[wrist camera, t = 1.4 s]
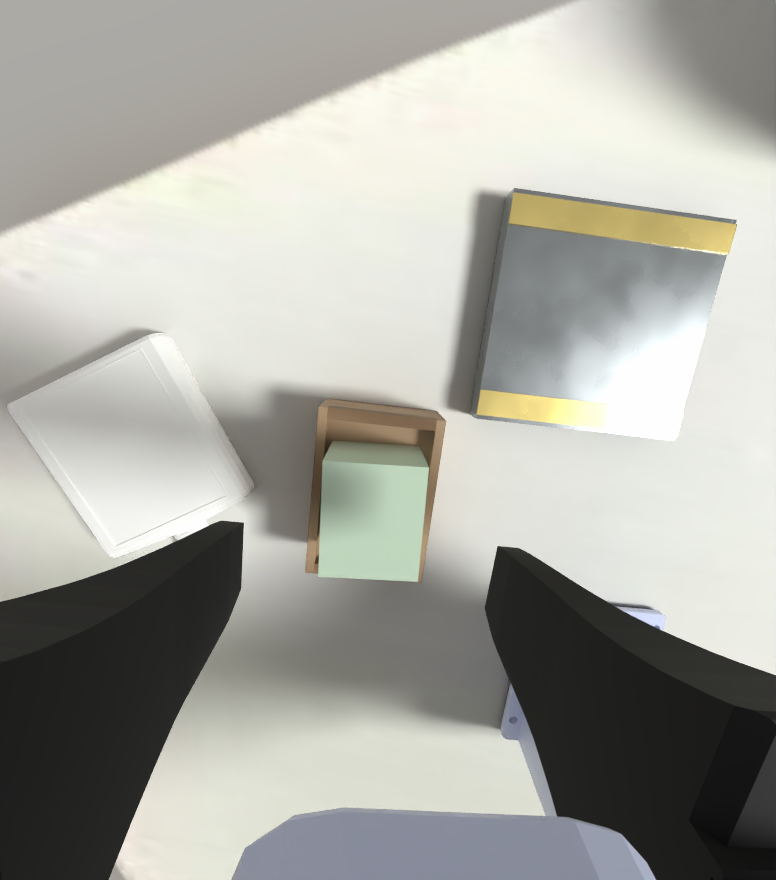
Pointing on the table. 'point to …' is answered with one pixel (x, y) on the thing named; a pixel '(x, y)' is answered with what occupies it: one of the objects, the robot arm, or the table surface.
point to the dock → (597, 314)
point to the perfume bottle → (135, 446)
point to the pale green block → (372, 511)
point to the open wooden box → (374, 427)
